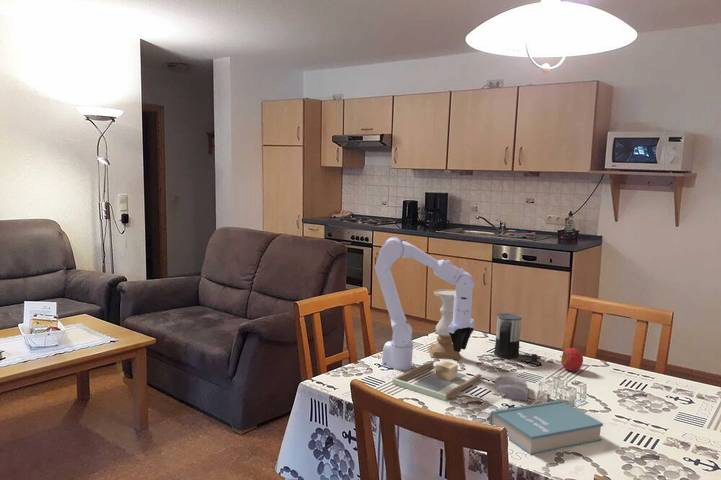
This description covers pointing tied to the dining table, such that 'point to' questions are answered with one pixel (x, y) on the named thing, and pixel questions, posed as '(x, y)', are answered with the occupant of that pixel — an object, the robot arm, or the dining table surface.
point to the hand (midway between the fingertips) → (459, 350)
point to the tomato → (572, 359)
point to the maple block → (446, 370)
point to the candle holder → (444, 328)
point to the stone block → (512, 387)
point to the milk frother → (509, 337)
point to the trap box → (433, 383)
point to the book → (547, 426)
